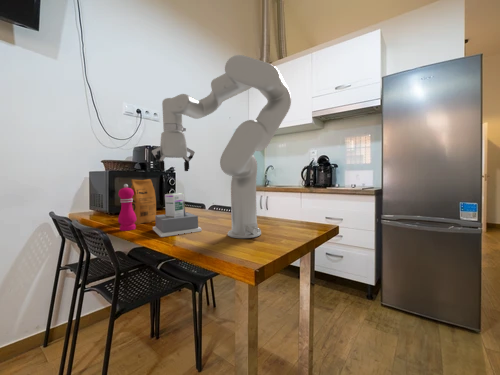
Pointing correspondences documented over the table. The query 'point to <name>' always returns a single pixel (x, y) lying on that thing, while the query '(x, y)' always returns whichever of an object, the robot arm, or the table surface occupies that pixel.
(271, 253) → the table surface
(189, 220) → the socket
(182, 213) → the syrup box
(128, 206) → the pepper mill
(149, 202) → the coffee package
